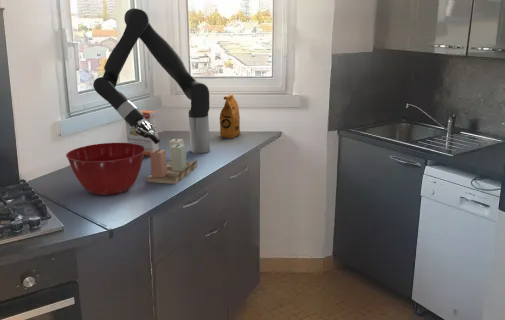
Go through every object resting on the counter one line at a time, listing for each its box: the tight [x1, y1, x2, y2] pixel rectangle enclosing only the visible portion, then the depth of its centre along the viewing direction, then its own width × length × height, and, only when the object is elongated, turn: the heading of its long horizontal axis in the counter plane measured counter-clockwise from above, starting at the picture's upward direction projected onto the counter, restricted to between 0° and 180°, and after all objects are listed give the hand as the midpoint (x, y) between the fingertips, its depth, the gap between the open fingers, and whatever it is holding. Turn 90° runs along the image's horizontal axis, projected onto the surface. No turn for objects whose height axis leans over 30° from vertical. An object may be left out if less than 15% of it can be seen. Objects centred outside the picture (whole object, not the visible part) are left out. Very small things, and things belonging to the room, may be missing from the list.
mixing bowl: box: [65, 142, 145, 196], centre depth 194 cm, size 28×28×15 cm
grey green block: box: [169, 144, 187, 171], centre depth 210 cm, size 4×4×10 cm
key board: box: [146, 159, 198, 185], centre depth 213 cm, size 23×12×3 cm, turn 165°
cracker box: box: [124, 109, 160, 157], centre depth 242 cm, size 14×6×21 cm, turn 68°
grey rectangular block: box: [168, 138, 185, 164], centre depth 220 cm, size 4×4×10 cm
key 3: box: [149, 148, 168, 177], centre depth 203 cm, size 4×4×10 cm
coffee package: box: [219, 93, 241, 139], centre depth 274 cm, size 10×12×22 cm
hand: (158, 142), depth 221 cm, fingers closed
